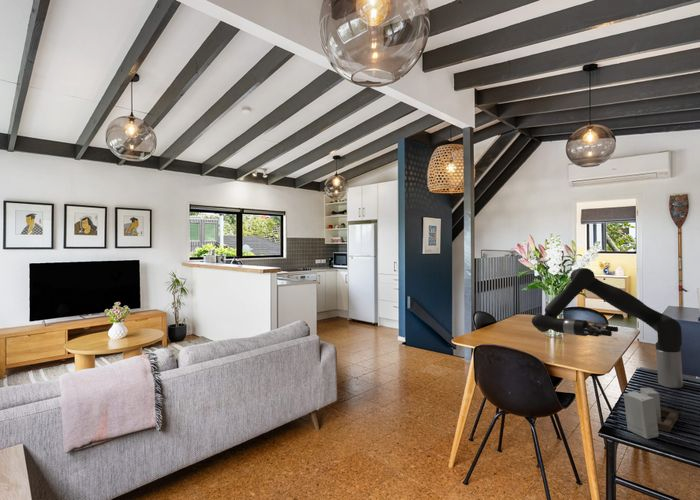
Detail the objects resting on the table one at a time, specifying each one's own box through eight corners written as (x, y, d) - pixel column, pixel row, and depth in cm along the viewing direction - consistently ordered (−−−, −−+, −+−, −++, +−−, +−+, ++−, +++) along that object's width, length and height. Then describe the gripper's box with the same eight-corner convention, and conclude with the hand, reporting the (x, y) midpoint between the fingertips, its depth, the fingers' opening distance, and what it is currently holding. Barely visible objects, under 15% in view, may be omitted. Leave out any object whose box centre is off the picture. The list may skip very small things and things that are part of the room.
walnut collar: (636, 407, 166) (636, 402, 166) (678, 417, 155) (677, 411, 155) (625, 420, 157) (625, 414, 156) (669, 432, 146) (668, 426, 146)
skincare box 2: (659, 436, 144) (656, 398, 143) (646, 440, 142) (643, 401, 142) (637, 426, 152) (635, 389, 151) (625, 429, 150) (622, 392, 150)
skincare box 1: (661, 422, 153) (659, 393, 152) (649, 422, 154) (647, 393, 153) (653, 415, 159) (651, 387, 158) (641, 415, 160) (639, 387, 159)
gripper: (569, 322, 181) (608, 326, 168) (580, 316, 190) (619, 320, 177) (570, 338, 181) (610, 343, 168) (581, 331, 190) (620, 336, 177)
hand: (614, 331), depth 173 cm, fingers open, 8 cm apart
